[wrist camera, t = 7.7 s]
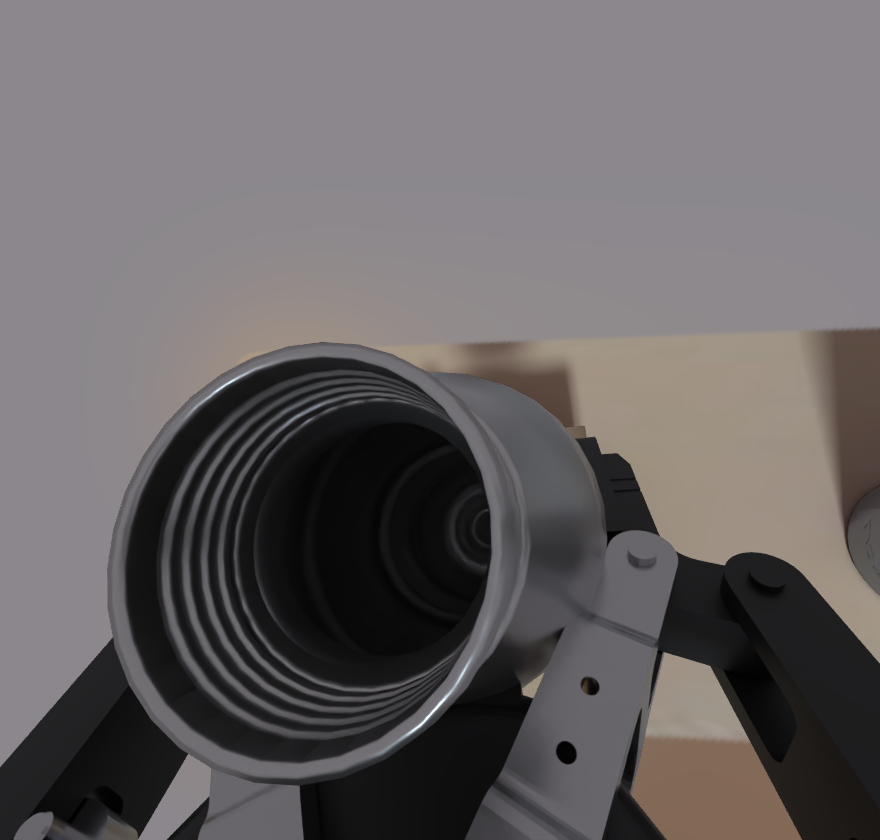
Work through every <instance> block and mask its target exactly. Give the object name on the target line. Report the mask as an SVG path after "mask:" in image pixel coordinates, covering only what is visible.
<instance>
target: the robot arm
mask: <svg viewBox="0 0 880 840" xmlns="http://www.w3.org/2000/svg"><path fill="white" fill-rule="evenodd" d="M575 440H576V441H577V442H578V443H579V445H580V447H581V449H582V451H583V453H584V454H585V456H586V458H587V460H588V462H589V464H590V465H591V467H592V469H593V471H594V473H595V476H596V480H597V483H598V486H599V490H600V493H601V496H602V499H603V503H604V509H605V520H606V531H607V547H606V556H605V565H604V574H603V578H602V581H601V583H600V586H599V588H598V590H597V592H596V595H595V597H594V599H593V602H592V604H591V606H590V609H589V611H588V612H587V613H584V614H580V615H578V616H576V617H575V618H574V619H572V620H571V621H570V622H569V623H568V624H567V625H566V626H565V628H564V630H563V632H562V635H561V637H560V639H559V641H558V644H557V646H556V648H555V651H554V653H553V655H552V657H551V660H550V662H549V664H548V667H547V669H546V671H545V673H544V676H543V678H542V680H541V683H540V685H539V687H538V689H537V692H536V694H535V696H534V699H533V698H530V697H527V696H524V695H523V693H522V686H521V682H520V683H518V684H516V685H514V686H512V687H510V688H509V689H507V690H505V691H503V692H500V693H497V694H494V695H491V696H488V697H485V698H482V699H479V700H476V701H473V702H470V703H467V704H454V705H451V706H450V707H449V708H448V709H447V710H446V711H445V713H444V714H443V715H442V716H441V717H440V718H439V719H438V720H437V721H436V723H434V724H433V725H432V726H430V727H429V728H427V730H426V731H424V732H423V733H422V734H420V735H419V736H417V737H416V738H415V739H413V740H412V741H411V742H409V743H408V744H406V745H405V746H404V747H402V748H401V749H399V750H398V751H397V752H395V753H394V754H393V755H391V756H390V757H388V758H387V759H385V760H383V761H381V762H378V763H376V764H374V765H371V766H369V767H367V768H364V769H362V770H360V771H357V772H355V773H353V774H350V775H348V776H346V777H344V778H339V779H334V780H328V781H322V782H317V783H311V784H305V785H300V786H294V785H279V784H264V783H254V782H250V781H247V780H244V779H241V778H238V777H235V776H232V775H229V774H226V773H223V772H219V771H216V770H214V769H212V768H211V783H210V796H209V797H208V798H207V799H206V800H205V801H204V802H203V803H202V804H201V805H200V806H199V808H197V809H196V810H195V811H194V812H193V814H192V815H191V816H190V817H189V818H188V819H187V820H186V821H185V822H184V823H183V824H182V825H181V826H180V827H179V828H178V829H177V830H176V831H175V832H174V833H173V834H172V835H171V836H170V837H169V838H168V839H167V840H666V838H665V837H664V836H663V835H662V833H661V832H660V831H659V830H658V828H657V827H656V826H655V824H654V823H653V822H652V821H651V820H650V818H649V817H648V816H647V815H646V813H645V812H644V811H643V809H642V808H641V807H640V806H639V804H638V803H637V802H636V801H635V799H634V798H633V797H632V796H631V794H632V790H633V786H634V782H635V778H636V773H637V769H638V765H639V761H640V757H641V752H642V748H643V743H644V738H645V732H646V727H647V722H648V718H649V714H650V709H651V705H652V701H653V697H654V693H655V689H656V685H657V681H658V677H659V673H660V669H661V665H662V661H663V657H664V653H665V652H666V653H669V654H672V655H676V656H679V657H682V658H686V659H689V660H693V661H696V662H699V663H703V664H706V665H709V666H711V668H712V670H713V672H714V674H715V676H716V677H717V679H718V681H719V683H720V685H721V687H722V689H723V691H724V693H725V694H726V696H727V698H728V700H729V702H730V704H731V706H732V708H733V710H734V712H735V713H736V715H737V717H738V719H739V721H740V723H741V725H742V727H743V729H744V730H745V732H746V734H747V736H748V738H749V740H750V742H751V744H752V746H753V747H754V749H755V751H756V753H757V755H758V757H759V759H760V761H761V763H762V765H763V766H764V768H765V770H766V772H767V774H768V776H769V778H770V780H771V782H772V783H773V785H774V787H775V789H776V791H777V793H778V795H779V797H780V799H781V800H782V802H783V804H784V806H785V808H786V810H787V812H788V813H789V816H790V818H791V819H792V821H793V823H794V825H795V827H796V829H797V831H798V833H799V835H800V836H801V838H802V840H880V663H879V662H878V661H877V660H876V659H875V658H874V656H873V655H872V654H871V653H870V652H869V651H868V649H867V648H866V647H865V646H864V645H863V644H862V642H861V641H860V640H859V639H858V638H857V637H856V636H855V634H854V633H853V632H852V631H851V630H850V629H849V627H848V626H847V625H846V624H845V623H844V622H843V620H842V619H841V618H840V617H839V616H838V615H837V613H836V612H835V611H834V610H833V609H832V608H831V606H830V605H829V604H828V603H827V602H826V601H825V600H824V598H823V597H822V596H821V595H820V594H819V593H818V591H817V590H816V589H815V588H814V587H813V586H812V584H811V583H810V582H809V581H808V580H807V579H806V577H805V576H804V575H803V574H802V573H801V572H800V571H799V570H797V569H796V568H795V567H794V566H792V565H790V564H789V563H787V562H785V561H783V560H781V559H779V558H777V557H774V556H771V555H767V554H762V553H754V552H748V553H741V554H737V555H735V556H733V557H731V558H730V559H729V560H728V561H727V562H726V564H725V566H724V565H719V564H714V563H709V562H704V561H699V560H696V559H692V558H689V557H686V556H684V555H682V554H680V553H678V552H676V551H675V549H674V548H673V547H672V545H671V544H670V543H669V542H667V541H666V540H665V539H663V538H662V537H660V535H659V533H658V531H657V529H656V526H655V524H654V521H653V519H652V516H651V514H650V512H649V509H648V507H647V504H646V502H645V499H644V497H643V495H642V492H640V487H639V485H638V482H637V481H636V478H635V475H634V473H633V470H632V468H631V465H630V464H629V463H628V462H627V461H626V460H624V459H623V458H622V457H621V456H620V455H619V454H617V453H614V454H601V452H600V449H599V446H598V443H597V440H596V438H595V437H588V438H576V439H575ZM848 544H849V551H850V553H851V556H852V559H853V561H854V564H855V566H856V568H857V569H858V571H859V573H860V574H861V576H862V577H863V579H864V580H865V581H866V582H867V583H868V584H869V586H870V587H871V588H872V589H873V590H874V591H875V592H876V593H877V594H879V595H880V486H879V487H877V488H875V489H873V490H872V491H870V492H869V493H868V494H867V495H866V496H864V497H863V498H862V499H861V500H860V502H859V503H858V504H857V506H856V507H855V509H854V510H853V513H852V516H851V518H850V521H849V526H848ZM187 755H188V753H186V752H185V751H183V750H182V749H180V748H179V747H178V746H177V745H176V744H175V743H174V742H173V741H172V740H171V739H170V738H169V737H168V736H167V735H166V734H165V733H164V732H163V731H162V730H161V729H160V728H159V727H158V726H157V725H156V724H155V723H154V722H153V721H152V720H151V719H150V717H149V715H148V714H147V712H146V711H145V709H144V708H143V706H142V704H141V703H140V701H139V700H138V698H137V697H136V695H135V693H134V692H133V690H132V689H131V687H130V686H129V683H128V680H127V678H126V675H125V673H124V670H123V667H122V665H121V662H120V660H119V657H118V654H117V652H116V649H115V645H114V639H113V638H112V639H111V640H110V641H109V643H108V644H107V645H106V646H105V647H104V648H103V649H102V651H101V652H100V653H99V654H98V655H97V656H96V658H95V659H94V660H93V661H92V662H91V663H90V665H89V666H88V667H87V668H86V669H85V670H84V671H83V673H82V674H81V675H80V676H79V677H78V678H77V679H76V681H75V682H74V683H73V684H72V685H71V686H70V688H69V689H68V690H67V691H66V692H65V693H64V694H63V696H62V697H61V698H60V699H59V700H58V701H57V703H56V704H55V705H54V706H53V707H52V708H51V709H50V711H49V712H48V713H47V714H46V715H45V716H44V718H43V719H42V720H41V721H40V722H39V723H38V724H37V726H36V727H35V728H34V729H33V730H32V731H31V733H30V734H29V735H28V736H27V737H26V738H25V739H24V741H23V742H22V743H21V744H20V745H19V746H18V747H17V749H16V750H15V751H14V752H13V753H12V755H11V756H10V757H9V758H8V759H7V760H6V761H5V763H4V764H3V765H2V766H1V767H0V840H138V839H139V837H140V835H141V833H142V832H143V830H144V828H145V826H146V825H147V823H148V822H149V820H150V818H151V816H152V815H153V813H154V811H155V810H156V808H157V806H158V804H159V803H160V801H161V799H162V797H163V796H164V794H165V793H166V791H167V789H168V787H169V785H170V784H171V782H172V781H173V779H174V777H175V776H176V774H177V772H178V770H179V769H180V767H181V765H182V764H183V762H184V760H185V758H186V757H187Z"/></svg>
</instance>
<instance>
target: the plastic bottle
mask: <svg viewBox="0 0 880 840" xmlns="http://www.w3.org/2000/svg"><path fill="white" fill-rule="evenodd" d="M606 547H607V531H606V520H605V509H604V503H603V499H602V496H601V493H600V490H599V486H598V483H597V480H596V476H595V473H594V471H593V469H592V467H591V465H590V464H589V462H588V460H587V458H586V456H585V454H584V453H583V451H582V449H581V447H580V445H579V443H578V442H577V441H576V440H575V439H574V437H573V436H572V435H571V434H570V433H569V432H568V430H567V429H566V428H565V427H564V426H563V424H562V423H561V422H560V421H559V420H558V419H557V418H556V417H555V416H554V415H552V414H551V413H550V412H549V411H547V410H546V409H545V408H544V407H542V406H541V405H540V404H538V403H537V402H536V401H535V400H533V399H532V398H530V397H528V396H526V395H524V394H522V393H520V392H518V391H516V390H514V389H512V388H510V387H508V386H506V385H503V384H500V383H496V382H493V381H489V380H486V379H482V378H478V377H475V376H471V375H467V374H455V373H442V372H435V373H428V372H426V371H424V370H422V369H420V368H418V367H416V366H414V365H412V364H411V363H409V362H407V361H405V360H403V359H401V358H399V357H397V356H395V355H393V354H390V353H386V352H383V351H379V350H375V349H372V348H368V347H365V346H361V345H356V344H342V343H325V342H320V343H312V344H304V345H297V346H289V347H285V348H282V349H278V350H275V351H272V352H269V353H266V354H263V355H260V356H257V357H254V358H251V359H250V360H248V361H246V362H244V363H242V364H240V365H238V366H236V367H234V368H233V369H231V370H229V371H227V372H225V373H223V374H221V375H220V376H218V377H217V378H216V379H214V380H213V381H212V382H210V383H209V384H208V385H206V386H205V387H204V388H203V389H201V390H200V391H199V392H197V393H196V394H195V395H194V396H192V397H191V398H190V399H189V400H188V401H187V402H186V403H185V404H184V405H183V406H182V407H181V408H180V409H179V410H178V411H177V413H175V414H174V416H173V417H172V418H171V419H170V420H169V421H168V422H167V423H166V424H165V425H164V427H163V428H162V429H161V431H160V432H159V434H158V435H157V437H156V438H155V439H154V441H153V442H152V444H151V445H150V447H149V448H148V450H147V451H146V452H145V454H144V455H143V457H142V459H141V461H140V463H139V465H138V467H137V469H136V471H135V473H134V475H133V477H132V479H131V481H130V483H129V485H128V487H127V489H126V492H125V494H124V497H123V501H122V504H121V507H120V510H119V513H118V516H117V519H116V522H115V526H114V529H113V535H112V542H111V548H110V555H109V562H108V568H107V573H108V574H107V575H108V612H109V618H110V623H111V629H112V634H113V639H114V645H115V649H116V652H117V654H118V657H119V660H120V662H121V665H122V667H123V670H124V673H125V675H126V678H127V680H128V683H129V686H130V687H131V689H132V690H133V692H134V693H135V695H136V697H137V698H138V700H139V701H140V703H141V704H142V706H143V708H144V709H145V711H146V712H147V714H148V715H149V717H150V719H151V720H152V721H153V722H154V723H155V724H156V725H157V726H158V727H159V728H160V729H161V730H162V731H163V732H164V733H165V734H166V735H167V736H168V737H169V738H170V739H171V740H172V741H173V742H174V743H175V744H176V745H177V746H178V747H179V748H180V749H182V750H183V751H185V752H186V753H188V754H190V755H191V756H193V757H195V758H196V759H198V760H200V761H201V762H203V763H205V764H206V765H208V766H209V767H211V768H212V769H214V770H216V771H219V772H223V773H226V774H229V775H232V776H235V777H238V778H241V779H244V780H247V781H250V782H254V783H264V784H279V785H294V786H300V785H305V784H311V783H317V782H322V781H328V780H334V779H339V778H344V777H346V776H348V775H350V774H353V773H355V772H357V771H360V770H362V769H364V768H367V767H369V766H371V765H374V764H376V763H378V762H381V761H383V760H385V759H387V758H388V757H390V756H391V755H393V754H394V753H395V752H397V751H398V750H399V749H401V748H402V747H404V746H405V745H406V744H408V743H409V742H411V741H412V740H413V739H415V738H416V737H417V736H419V735H420V734H422V733H423V732H424V731H426V730H427V728H429V727H430V726H432V725H433V724H434V723H436V721H437V720H438V719H439V718H440V717H441V716H442V715H443V714H444V713H445V711H446V710H447V709H448V708H449V707H450V706H451V705H454V704H467V703H470V702H473V701H476V700H479V699H482V698H485V697H488V696H491V695H494V694H497V693H500V692H503V691H505V690H507V689H509V688H510V687H512V686H514V685H516V684H518V683H520V682H521V686H522V688H523V687H525V686H526V685H527V684H529V683H530V682H531V681H533V680H534V679H536V678H537V677H538V676H540V675H541V674H543V673H544V672H545V671H546V669H547V667H548V664H549V662H550V660H551V657H552V655H553V653H554V651H555V648H556V646H557V644H558V641H559V639H560V637H561V635H562V632H563V630H564V628H565V626H566V625H567V624H568V623H569V622H570V621H571V620H572V619H574V618H575V617H576V616H578V615H580V614H584V613H587V612H588V611H589V609H590V606H591V604H592V602H593V599H594V597H595V595H596V592H597V590H598V588H599V586H600V583H601V581H602V578H603V574H604V565H605V556H606Z"/></svg>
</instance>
